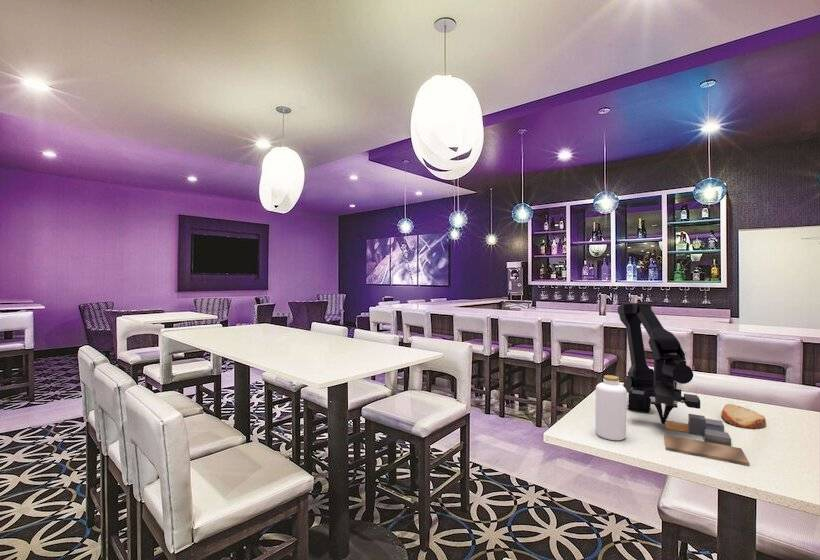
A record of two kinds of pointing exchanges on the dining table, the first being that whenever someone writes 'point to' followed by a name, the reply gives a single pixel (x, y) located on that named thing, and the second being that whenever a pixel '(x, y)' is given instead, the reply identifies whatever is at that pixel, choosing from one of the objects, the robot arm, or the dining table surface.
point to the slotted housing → (716, 433)
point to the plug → (689, 425)
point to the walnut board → (706, 449)
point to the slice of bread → (742, 417)
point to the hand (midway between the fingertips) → (663, 423)
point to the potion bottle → (611, 409)
